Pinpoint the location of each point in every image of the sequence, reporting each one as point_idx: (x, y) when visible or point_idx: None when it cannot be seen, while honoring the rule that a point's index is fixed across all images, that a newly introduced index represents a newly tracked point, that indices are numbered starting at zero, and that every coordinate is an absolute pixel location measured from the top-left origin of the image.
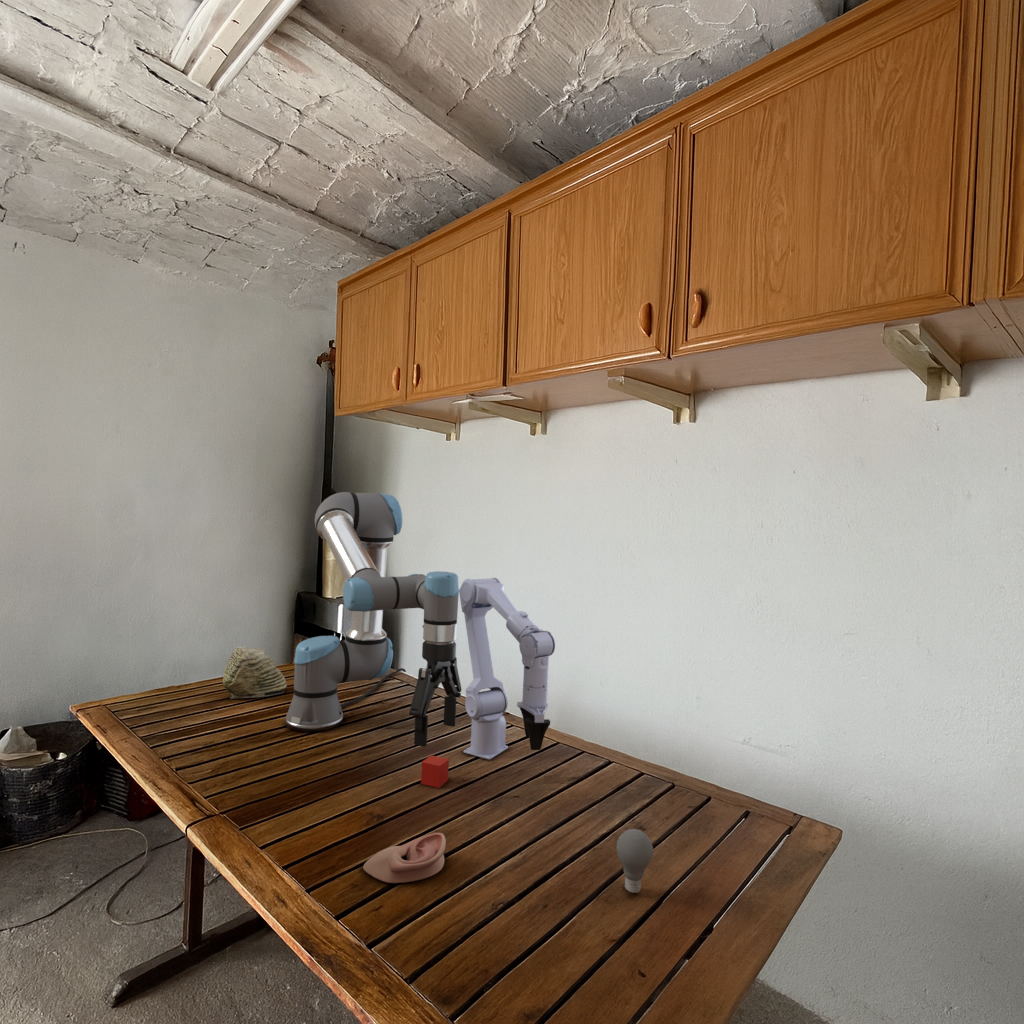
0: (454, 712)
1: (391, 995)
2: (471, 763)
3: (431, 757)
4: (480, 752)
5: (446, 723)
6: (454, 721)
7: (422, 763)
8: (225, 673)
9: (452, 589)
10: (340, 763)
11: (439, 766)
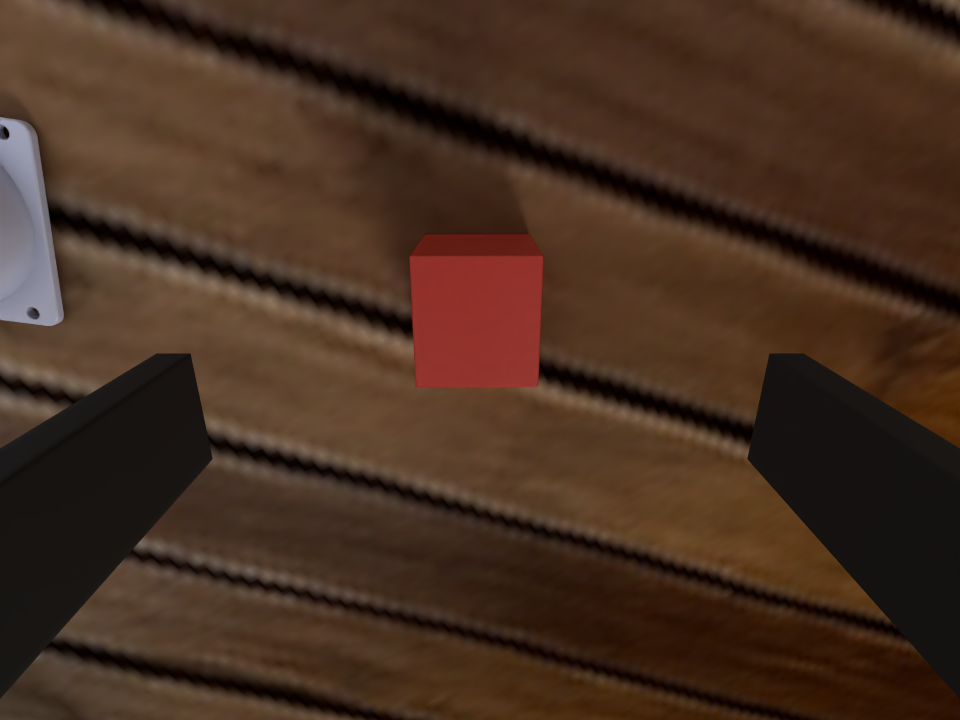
0: (82, 423)
1: None
2: (151, 214)
3: (447, 368)
4: (14, 207)
5: (198, 438)
6: (147, 373)
7: (537, 379)
8: None
9: None
10: (500, 698)
11: (543, 258)
